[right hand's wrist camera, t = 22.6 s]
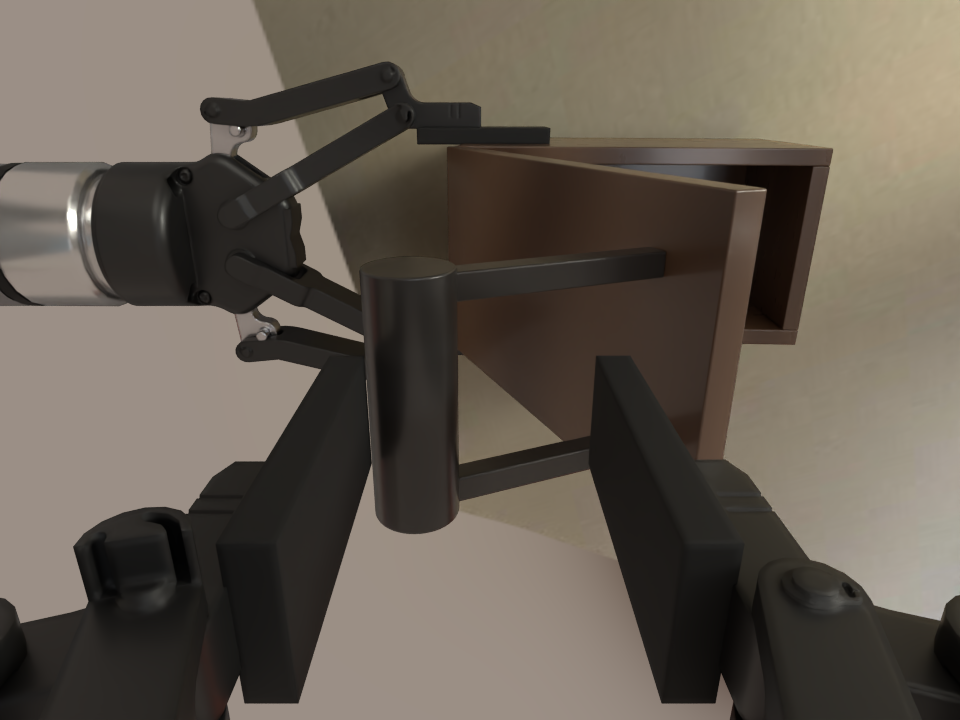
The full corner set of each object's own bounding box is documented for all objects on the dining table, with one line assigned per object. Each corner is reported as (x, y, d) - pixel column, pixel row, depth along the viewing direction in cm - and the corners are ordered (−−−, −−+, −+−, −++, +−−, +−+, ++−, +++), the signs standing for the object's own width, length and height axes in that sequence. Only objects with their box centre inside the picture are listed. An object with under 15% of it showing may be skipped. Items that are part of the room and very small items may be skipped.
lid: (768, 188, 14) (388, 210, 11) (710, 538, 18) (408, 634, 14) (465, 146, 29) (266, 150, 26) (466, 340, 33) (290, 365, 30)
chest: (759, 138, 38) (834, 148, 29) (735, 294, 41) (795, 344, 32) (470, 137, 38) (457, 145, 30) (470, 290, 42) (458, 338, 33)
